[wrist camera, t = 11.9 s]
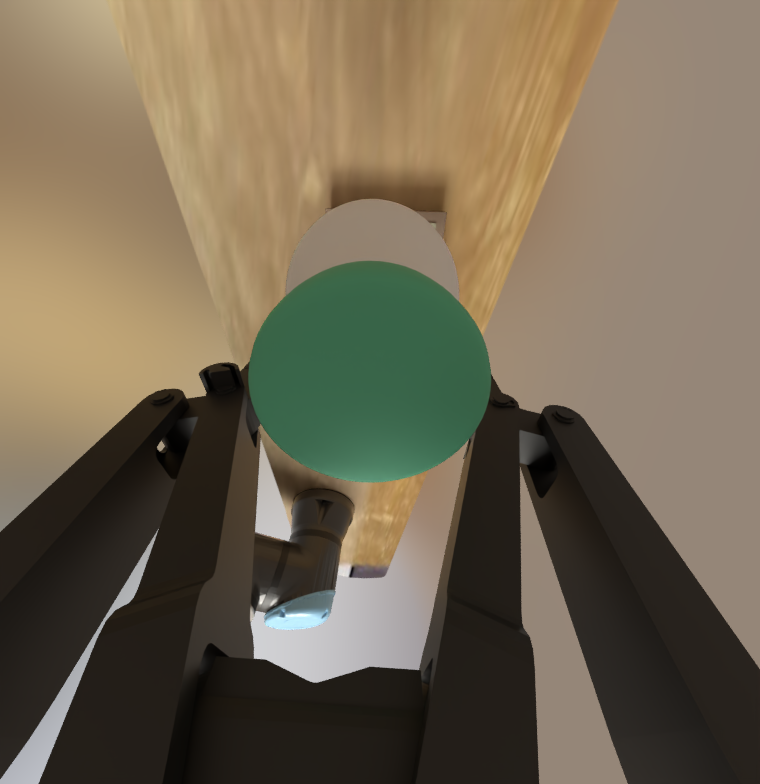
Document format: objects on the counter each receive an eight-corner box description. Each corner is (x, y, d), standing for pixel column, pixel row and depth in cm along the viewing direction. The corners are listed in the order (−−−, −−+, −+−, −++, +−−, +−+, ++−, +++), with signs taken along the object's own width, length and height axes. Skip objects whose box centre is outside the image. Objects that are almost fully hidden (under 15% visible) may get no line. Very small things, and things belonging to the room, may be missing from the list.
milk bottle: (306, 253, 21) (30, 357, 4) (387, 186, 19) (494, -160, 2) (363, 331, 25) (337, 562, 8) (437, 281, 23) (633, 447, 5)
